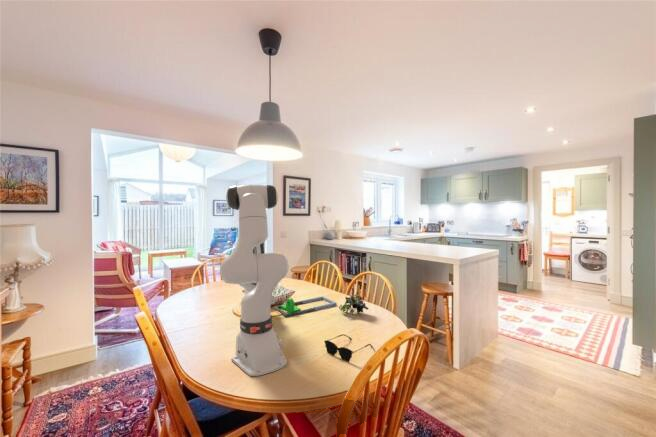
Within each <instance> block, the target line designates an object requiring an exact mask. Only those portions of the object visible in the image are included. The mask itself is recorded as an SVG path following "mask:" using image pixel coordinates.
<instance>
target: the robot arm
mask: <svg viewBox="0 0 656 437" xmlns="http://www.w3.org/2000/svg"><path fill="white" fill-rule="evenodd" d="M225 199H226V203H227V205H228V207H229V208H230V209H232V210H236V211H238V238H237V243H236V246H235V248H234V249H233V250H232V252H230V254H229V255H228V256H226V257H225V258H224V259H223V260H222V262H221V264H220V266H219V274H220V275H219V276H220V278H221V279H222V280H223V282H224V283H225V284H229V285H239V286H240V287H241V288H243V289H244V290H245V291H246V292H247V293H245V294H244V295H243V297H242V298H241V301H240V308H241V310H240V312H241V313H240V315H241V317H240V319H239V320H240V321H239V329H240V331H239V333H238V334H237V336H236V340H235V354H233V356H232V357H231V362H233V363H234V364H235V365H236V366H238V367H239V368H240V369H241V370H242V371H243V372H245V373H246V375H248V376H250V377H256V376H263V375H267V374H270V373H273V372H276V371H279V370H280V369H282V368H284V367H286V365H287V364H288V362H287V358H286V356H285V354H284V352H283V350H282V347H281V346H283V340H282V339H278V338H277V337H278V333H277V332H275V329H274V328H275V327H274V326H273V324H274V323H273V318H272V314H271V308H272V306H271V305H274V304H276V302H277V300H278V299H277V298H276V297H275V296H274V295H273V293H274V291H275V288H276V287H277V285H278V284H279V283H280V282H281V281H282V280H283V279H284V278H285V277H286V276H287V274H288V271H289V268H290V267H289V266H290V265H289V261H288V259H287V258H286V256H285V255H284V254H283V253H282V254H281V253H275V252H267V253H265V242H266V241H267V240H268V237H269V228H268V215H267V209H268V210H270V209H272V208H275V207H276V206H277V204H278V201H279V193H278V191H277V189H276V187H275V186H273V185H270V184H266V185H264V184H263V185H262V184H243V185H232V186H229V187H228V189H227V191H226V195H225Z"/></svg>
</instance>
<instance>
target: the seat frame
mask: <svg viewBox="0 0 656 437" xmlns="http://www.w3.org/2000/svg"><path fill="white" fill-rule="evenodd" d="M285 304H286V303H284V304H283V305H285ZM301 304H304V303H303V302H302V300H299V301H294V306H297V305H301ZM281 305H282V304H279V305H275V306H273V310H275V311H276V312H277V311H278V312H277V313H279V312H280V313H281V314H280V313H279V314H280V315H282V316H283V318H288V317H294V316H297V315H302V314H307V313H311V312H314V311H316V310H315V308H313V307H311V308H306V309H301V311H297V312H292V313H287V312H286V311H284V310H282V309H281Z"/></svg>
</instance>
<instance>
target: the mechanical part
mask: <svg viewBox="0 0 656 437" xmlns="http://www.w3.org/2000/svg"><path fill="white" fill-rule="evenodd" d="M294 302H295V301H294V299H293V298H291V297H290V298H287V299H286V301H285V303H284V304H285V305H284V304H280V305H281V308H280V309H281V310H282V309H283V310H282V311H284V310H285V311H284V312H286V311H287V312H286V314H288V313H292V312H297V311H301V310H302V309H301V308H300V307H298V306H297V305H294Z"/></svg>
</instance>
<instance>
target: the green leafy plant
mask: <svg viewBox="0 0 656 437" xmlns="http://www.w3.org/2000/svg"><path fill="white" fill-rule="evenodd" d="M338 309H339V310H340V311H341V312H343V313H344V312H345V315H348V312H349V313H350V314H349V317H351V316H352V315H353V313H354V312H355V311H357V313H359V312H360V313H364V309H365V310H369V307H368V306H366V303H365V302H364V300H363V298H362V296H360V295H358V294H354V295H351V296H349V297H347V296H345V302H344V304H343V305H342V304H340V305H339V307H338Z"/></svg>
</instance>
